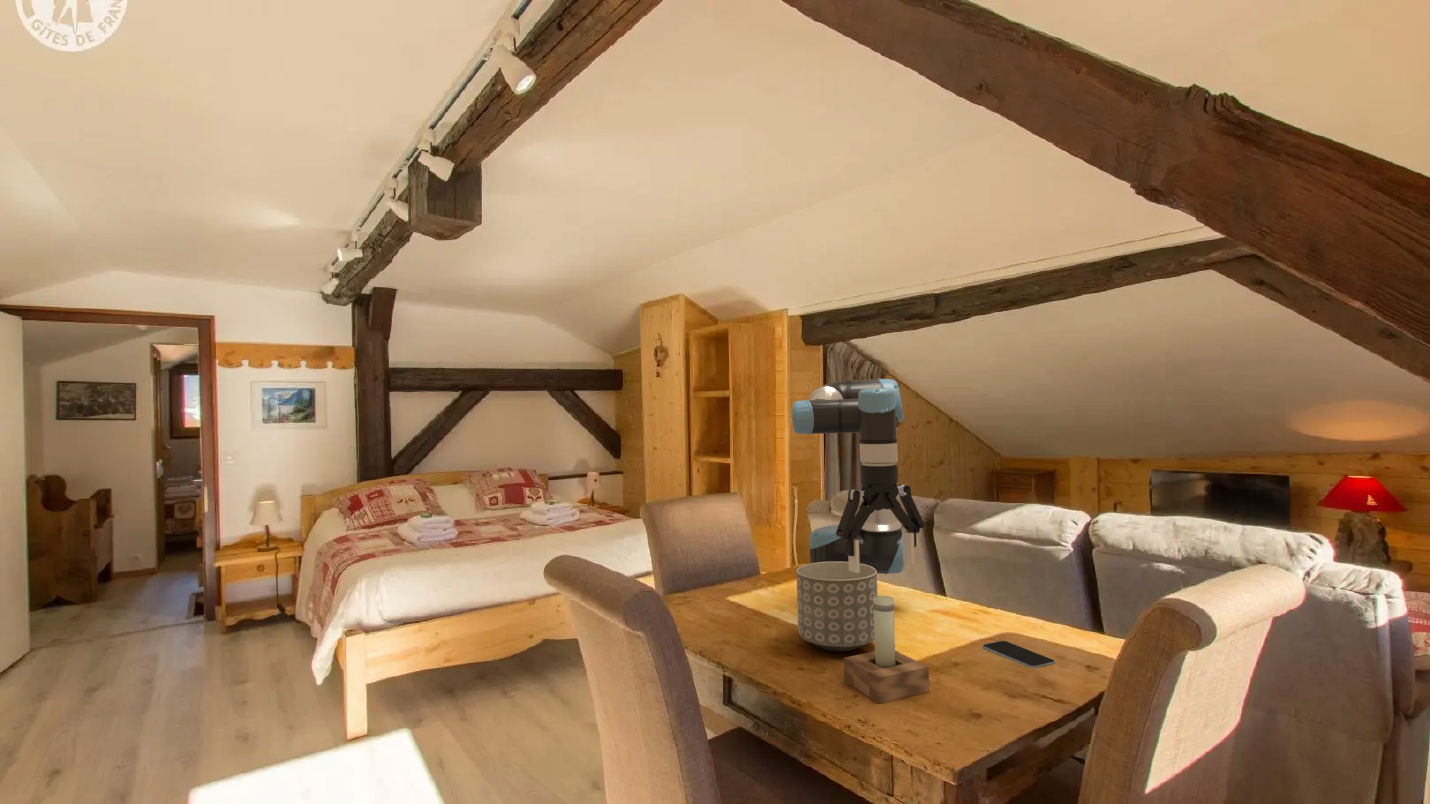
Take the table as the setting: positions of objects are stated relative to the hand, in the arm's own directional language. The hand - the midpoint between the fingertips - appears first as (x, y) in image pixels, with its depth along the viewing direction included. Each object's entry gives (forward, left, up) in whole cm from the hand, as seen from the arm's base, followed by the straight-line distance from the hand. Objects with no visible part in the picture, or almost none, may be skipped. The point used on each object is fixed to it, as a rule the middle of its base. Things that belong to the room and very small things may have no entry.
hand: (882, 567), depth 142 cm
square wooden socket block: (0, 0, -24) cm, 24 cm away
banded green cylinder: (0, 0, -24) cm, 24 cm away
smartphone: (-37, -1, -25) cm, 44 cm away
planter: (-5, -25, -24) cm, 35 cm away
